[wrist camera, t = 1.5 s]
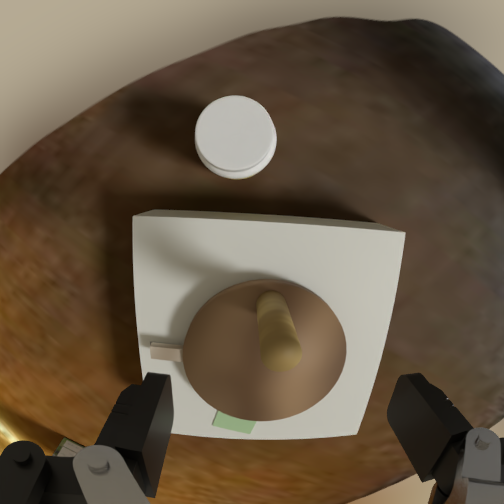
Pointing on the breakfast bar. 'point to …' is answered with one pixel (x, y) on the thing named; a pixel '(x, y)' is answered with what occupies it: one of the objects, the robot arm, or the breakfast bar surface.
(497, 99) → the breakfast bar surface
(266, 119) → the supplement bottle
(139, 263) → the box
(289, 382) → the tuning dial
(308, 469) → the breakfast bar surface
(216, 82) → the breakfast bar surface
